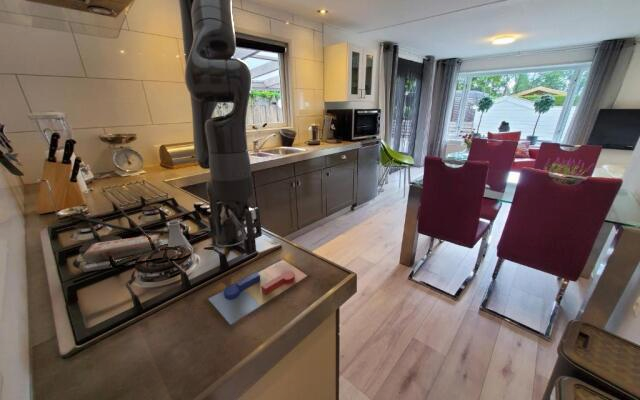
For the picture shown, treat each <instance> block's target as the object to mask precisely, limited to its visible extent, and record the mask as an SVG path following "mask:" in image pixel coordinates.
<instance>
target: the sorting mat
mask: <svg viewBox="0 0 640 400" xmlns="http://www.w3.org/2000/svg"><path fill="white" fill-rule="evenodd" d="M284 271H292V272H294V274H295V280H294V281H293V282H292V283H289V284H283V285H282V286H280V287H278V288H277V289H275V290H274V291H272V292H270V293H269V294H267V295H265V294H264V293H262V285H264V284H266V283H267V282H269V281H271V280H273V279H274V278H276V277H278V276H280V275H281V274H282V273H283V272H284ZM257 273H258V274H259V275H260V281H259V282H258V283H256V284H254V285H252V286H251V287H249V288H247V289H245V290H243V291H242V292H240V294H239V296H238V297H237V298H235V299H231V300H228V299H226V298H225V297H224V290H222V291H220V292H219V293H217V294H214V295H213V296H211V297H209V298H208V301H209V302H210V303H211V304H212V305H213V306H214V308H215V309H216V311H218V313H220V314H221V316H222V317H223V318H224V319H225V321H226V322H227V324H228V323H229V325H230V326H231V325H233V324H235V323H236V322H237V321H240V320H241V319H242V318H244V317H245V316H247V315H249V314H250V313H252V312H254V311H255V310H257V309H259V307H261V306H263V305H264V304H266V303H268V302H269V301H271V300H272V299H274V298H275V297H277V296H278V295H280V294H282V293H283V292H284V291H286V290H288V289H289V288H291V287H292V286H294V285H296V284H297V283H299V282H300V281H302V280H304V279H305V278H306V277H308V275H307V274H306V273H305V272H303V271H302V270H299V269H298V268H297V267H296V266H294V265H292V264H290V263H289V262H287V261H286V260H284V259H281V260H279V261H277V262H275V263H273V264H271V265H269V266H268V267H266V268H264V269H262V270H260V271H257ZM234 285H236V283H235V284H234Z"/></svg>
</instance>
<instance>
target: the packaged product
mask: <svg viewBox="0 0 640 400" xmlns="http://www.w3.org/2000/svg"><path fill="white" fill-rule="evenodd" d="M146 236H147V235H145V236H136V237H130V238H122V239H115V240H114V239H113V240H107V241H100V242H95V243H93V244H91V246H89V248H87V250H86V251H85V252H84V254H83V259H84V261H85V264H84V265H83V268H82V270H83V272H84V273H88V272H93V271H100V270H105V269H110V268H113V267H112V265H111V266H109V265H110V262H109V259H108V255H111V256H112V257H113V258H114V260H115V261H116V262H117V261H120V260H122V259H125V258H127V257H130V256H134V255H138V256H139V255H142V254H144V253H146V252H149V251H151V250H152V248H151V245H150V242H149V240H148V238H147V237H146ZM148 236H149V237H150V238H151V239H152V241H153V243H154V244H155V246H156V247H158V246H160V245H164V244H168V242H169V238H164V239H160V234H152V235H148ZM135 262H136V261H134V262H130V263H129V264H128V265H126V266H131V265H134V264H136V263H135ZM126 266H125V267H126Z"/></svg>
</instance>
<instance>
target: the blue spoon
mask: <svg viewBox="0 0 640 400" xmlns="http://www.w3.org/2000/svg"><path fill="white" fill-rule="evenodd" d="M259 281H260V275H259V274H258V271H257V272H254V273H252V274H250V275H248V276H247V277H244V278H243V279H241V280H239V281H237V282H236V283H235V284H236V285H235V284H231V285H227V286H226V287H225V288H224V289H223V291H224V297H225V298H226V299H228V300H231V299H235V298H237V297H238V296H239V294H240V292H242V291H243V290H245V289H247V288H249V287H251V286H252V285H254V284H256V283H258V282H259Z"/></svg>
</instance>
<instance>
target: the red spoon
mask: <svg viewBox="0 0 640 400" xmlns="http://www.w3.org/2000/svg"><path fill="white" fill-rule="evenodd" d="M294 280H295V274H294V272H292V271H284V272H283V273H282V274H281V275H280V276H278V277H276V278H274V279H273V280H271V281H269V282H267V283H266V284H264V285H262V293H264V294H265V295H267V294H269V293H270V292H272V291H274V290H275V289H277V288H278V287H280V286H282V285H283V284H289V283H292V282H293V281H294Z"/></svg>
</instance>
